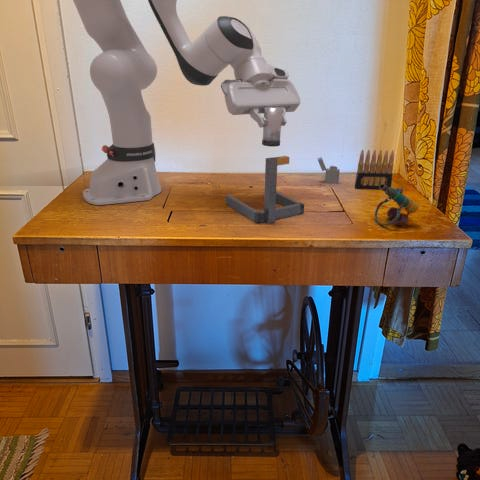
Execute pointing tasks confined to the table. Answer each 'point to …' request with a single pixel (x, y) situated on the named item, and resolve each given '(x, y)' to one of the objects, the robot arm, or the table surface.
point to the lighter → (329, 172)
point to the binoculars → (402, 202)
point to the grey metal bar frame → (269, 198)
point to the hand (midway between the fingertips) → (273, 125)
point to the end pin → (272, 126)
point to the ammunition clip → (374, 171)
